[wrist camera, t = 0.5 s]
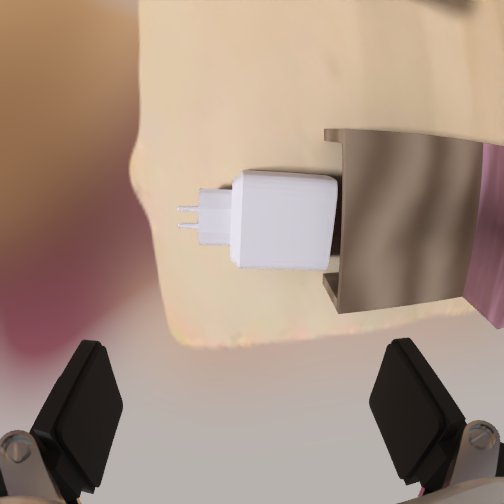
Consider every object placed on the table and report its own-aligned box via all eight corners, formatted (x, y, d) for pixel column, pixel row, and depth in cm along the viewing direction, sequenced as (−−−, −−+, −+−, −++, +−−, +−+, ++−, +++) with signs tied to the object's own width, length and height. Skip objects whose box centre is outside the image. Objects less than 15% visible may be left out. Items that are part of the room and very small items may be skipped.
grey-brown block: (454, 138, 31) (538, 153, 18) (441, 271, 37) (504, 327, 24) (324, 129, 31) (380, 130, 18) (322, 283, 37) (360, 360, 24)
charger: (182, 167, 32) (326, 174, 33) (183, 251, 35) (317, 255, 36) (173, 173, 27) (339, 181, 28) (175, 269, 31) (327, 273, 31)
